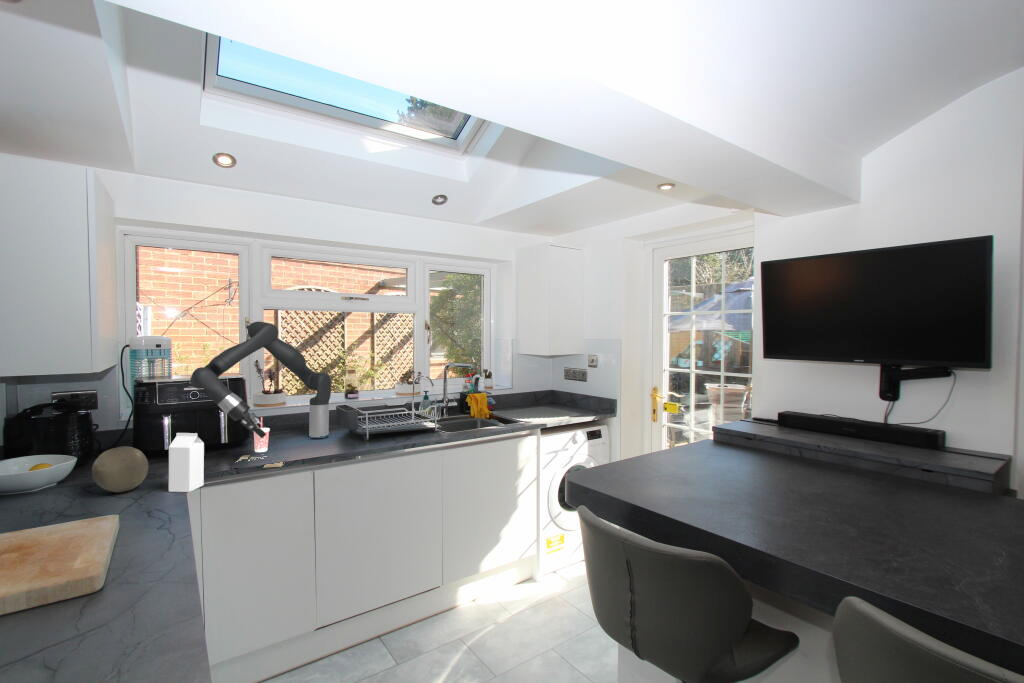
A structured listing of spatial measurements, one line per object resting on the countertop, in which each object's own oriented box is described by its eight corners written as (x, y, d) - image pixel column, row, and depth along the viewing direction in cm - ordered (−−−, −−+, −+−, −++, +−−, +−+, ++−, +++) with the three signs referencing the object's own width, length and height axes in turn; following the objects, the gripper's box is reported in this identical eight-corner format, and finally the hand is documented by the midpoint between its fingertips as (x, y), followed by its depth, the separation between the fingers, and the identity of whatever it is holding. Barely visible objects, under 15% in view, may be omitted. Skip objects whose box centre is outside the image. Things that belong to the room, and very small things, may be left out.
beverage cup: (265, 448, 200) (266, 415, 200) (272, 450, 196) (272, 417, 196) (250, 450, 195) (250, 416, 195) (256, 453, 191) (257, 418, 191)
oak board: (242, 457, 202) (242, 455, 202) (288, 455, 207) (288, 452, 207) (230, 469, 184) (230, 466, 184) (281, 466, 190) (281, 463, 190)
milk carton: (189, 492, 157) (189, 435, 157) (168, 492, 158) (168, 435, 157) (203, 485, 164) (204, 431, 164) (183, 485, 165) (184, 430, 164)
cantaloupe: (104, 488, 161) (104, 443, 160) (154, 484, 166) (154, 441, 165) (83, 502, 147) (83, 453, 147) (138, 497, 152) (139, 450, 152)
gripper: (236, 402, 186) (269, 431, 190) (245, 397, 200) (276, 424, 204) (221, 416, 185) (254, 445, 188) (231, 410, 199) (262, 437, 202)
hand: (265, 434), depth 196 cm, fingers closed on beverage cup, 6 cm apart
